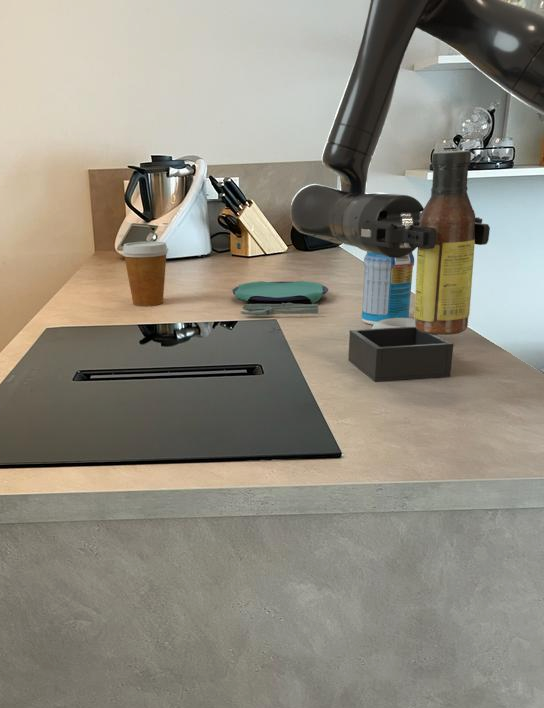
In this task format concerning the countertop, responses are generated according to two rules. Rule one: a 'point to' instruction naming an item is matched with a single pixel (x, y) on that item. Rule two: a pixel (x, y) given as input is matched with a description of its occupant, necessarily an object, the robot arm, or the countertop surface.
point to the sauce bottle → (446, 249)
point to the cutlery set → (280, 296)
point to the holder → (400, 354)
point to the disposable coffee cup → (146, 271)
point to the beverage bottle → (386, 287)
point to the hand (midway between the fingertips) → (459, 237)
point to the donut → (394, 323)
